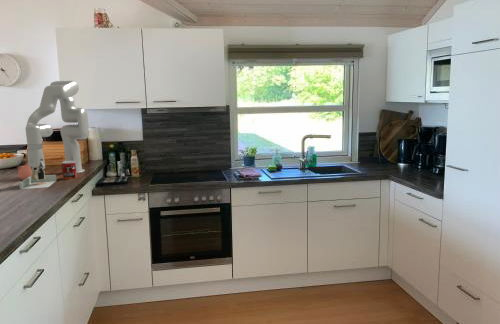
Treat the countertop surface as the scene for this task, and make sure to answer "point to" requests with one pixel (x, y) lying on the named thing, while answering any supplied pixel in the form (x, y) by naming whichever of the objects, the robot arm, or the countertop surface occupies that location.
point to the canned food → (69, 170)
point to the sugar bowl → (24, 172)
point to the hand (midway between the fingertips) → (38, 178)
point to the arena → (37, 182)
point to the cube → (36, 175)
